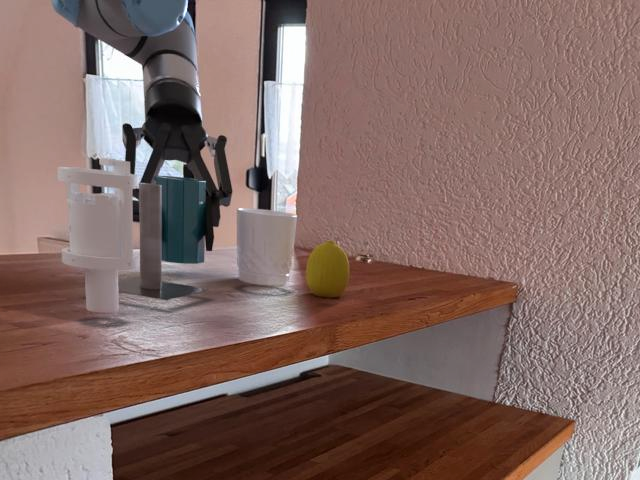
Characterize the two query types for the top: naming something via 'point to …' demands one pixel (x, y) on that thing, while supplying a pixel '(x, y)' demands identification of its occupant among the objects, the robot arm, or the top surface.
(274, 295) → the top surface
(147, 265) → the grey peg stand
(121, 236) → the white stepped cylinder
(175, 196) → the ring sleeve
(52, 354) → the top surface
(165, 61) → the robot arm
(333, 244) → the lemon
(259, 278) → the white cup
